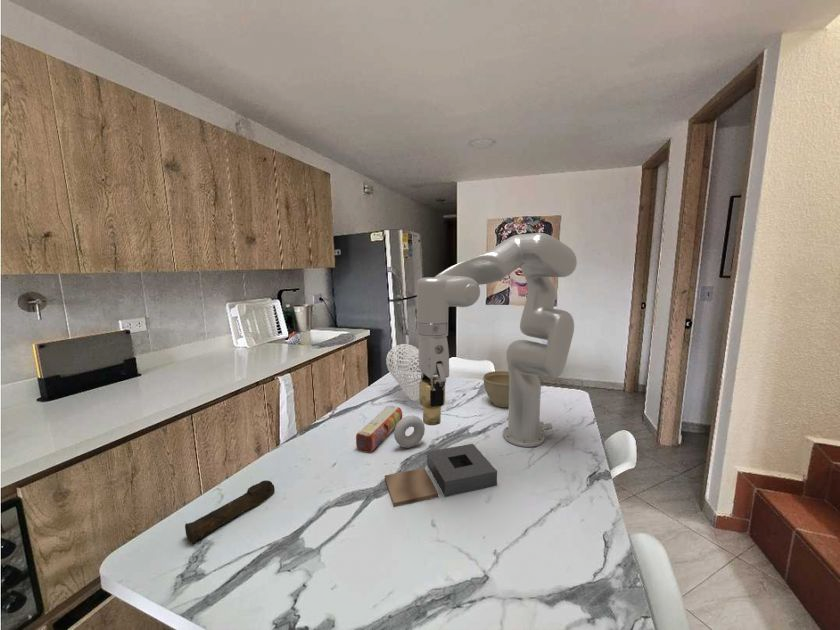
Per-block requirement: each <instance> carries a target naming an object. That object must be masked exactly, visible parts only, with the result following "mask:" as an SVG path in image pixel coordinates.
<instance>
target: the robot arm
mask: <svg viewBox="0 0 840 630" xmlns="http://www.w3.org/2000/svg"><path fill="white" fill-rule="evenodd" d="M577 262H578V261H577V256H576V253H575V252H574V250H573V249H572V248H571V247H569V246H568V245H566V244H565V243H564V242H562V241H560V240H559V239H557V238H556V237H554V236H552V235H550V234H548V233H544V232H535V233H532V232H531V233H522V234H521V233H520V234H515V235H512V236H510V237H508V238H507V239H505V240H503V241H502V242H500V243H499V244H497V245H496V246H494V247H492V248H490V249H489V250H488V251H486V252H484V253H482V254H480V255H476V256H474V257H471V258H469V259H465V260H464V261H461V262H458V263H456V264H454V265H451V266H449V267H447V268H446V269H444V270H443V271H440V272H439V273H438V274H437V275H435V276H434V277H421V278H419V279H418V280H417V283H416V336H417V337H418V338H419V341H418V350H419V354H418V355H419V356H418V357H419V365H418V366H419V369H420V370H421V372H422V373H421V372H420V373H421V375H420V378H421V379H420V381H421V380H425V379H431V387H432V390H430V406H431V407H436V406H441V407H443V406H444V405H445V404H444V385H445V386H446V383H447V378H449V376H450V354H449V343H448V336H449V308H451V307H458V308H468V307H470V306H473V305H474V304H476V302H477V301H478V300H479V298H480V295H481V288H480V286H479V285H481V286H482V285H488V284H493V283H497V282H500V281H502V280H504V279H505V278H507V276H509V275H510V274H512V273H513V272H514V271H515V270H517V269H519V268H520V270H521V272H522V274H523V276H524V278H525V281H526V284H527V294H526V300H525V302H524V306H523V310H522V313H521V317H520V322H519V329H520V332H521V333H522V334H523V335H524V336H527V337H530V338H535V339H540V340H544V341H547V342H546V343H547V344H546V343H545V344H544V343H540V342H537V341H532V340H526V339H517V340H515V341H513V342H511V343H510V344H509V345H508V347H507V349H506V354H505V355H506V363H507V368H508V370H507V371H509V407H508V413H507V414H508V415H507V417H508V419H507V420H508V421H507V424H508V425H507V426H506V427H505V428H504V429H503V431H502V436H503V438H504V439H505V440H506V441H507V442H508V443H510V444H512V445H514V446H518V447H525V448H532V447H537V446H540V445H542V444H543V443H544V441H545V435H544V434H543V432H545V431H550V430H552V429H553V425H552V423H551V422H550V423H549V422H548V423H544V421H543V420H542V421H541V420H540V418H541V392H542V385H541V381H540V378H539V377H542V378H546V379H549V380H554V379H555V380H556V379H557V378H559V377H560V376H561V375H562V373H563V372H564V369H565V367H566V363H567V361H568V356H569V354H570V353H569V352H570V348H571V344H572V341H573V336H574V332H575V323H574V317H573V316H572V314H571V313H570V312H569V311H566V310H564V309H557V308H555V303H556V299H557V290H556V287H555V286H554V283H553V282H552V281H551V278H565V277H569V276H571V275H572V274H573V273H574V271H575V270H576V268H577ZM433 375H438V377H434V376H433ZM434 380H438V382H436V384H435V382H434ZM443 404H444V405H443Z"/></svg>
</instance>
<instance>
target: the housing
mask: <svg viewBox="0 0 840 630" xmlns="http://www.w3.org/2000/svg"><path fill="white" fill-rule="evenodd" d="M426 465H427V468H428V470H429V471H430V473H431V474H432V476H433V479H434V480H435V483H436V484H437V486H438V487H439V489H440V490H441V493H442V496H444V498H447V497H452V496H457V495H460V494H465V493H466V494H467V493H469V492H475V491H479V490H482V489H483V490H484V489H488V488H493V487H497V486H498V470H497V469H496V468H495V467H494V465H492V463H490V461H489V460H488V459H487V458H486V456H485V455H484V454H483V452H481V451H480V450H479V448H477V446H476V445H475V444H474V443H468V444H463V445H458V446H452V447H446V448H441V449H435V450H428V451H426Z"/></svg>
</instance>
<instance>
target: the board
mask: <svg viewBox="0 0 840 630" xmlns="http://www.w3.org/2000/svg"><path fill="white" fill-rule="evenodd" d="M384 481H385V484H386V487H387V491H388V494H389V496H390V500H391V502H392V503H391V504H392V506H393V508H394V507H400V506H403V505H408V504H414V503H418V502H423V501H426V500H431V499H435V498H439V492H438V490H437V488H436V486H435V484H434V482H433V481H432V479H431V477H430V475H429V474H428V472H427V469H426V468H425V467H422V468H421V467H420V468H416V469H413V470H407V471H400V472H396V473H391V474H386V475H384Z"/></svg>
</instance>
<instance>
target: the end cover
mask: <svg viewBox="0 0 840 630" xmlns="http://www.w3.org/2000/svg"><path fill="white" fill-rule="evenodd" d="M418 382H419V383H418V385H419V392H418V393H419V400H418V403H419V405H420V406H422V421H423V423H424V425H426V426H438V425H440V424H441V423H442V422H441V419H442V418H441V417H442V416H441V415H442V414H441V413H442V411H441V410H442V406H436V407H431V406H430V390H432V387H431V379H425V380H422V381H421V380H419V381H418ZM434 382H435V384H436V382H438V380H434ZM445 404H446V384H445V385H444V404H443V406H445Z"/></svg>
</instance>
